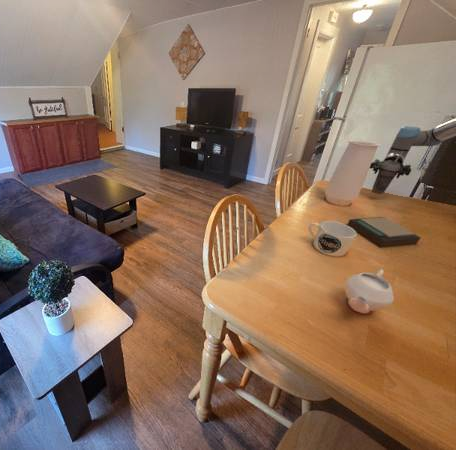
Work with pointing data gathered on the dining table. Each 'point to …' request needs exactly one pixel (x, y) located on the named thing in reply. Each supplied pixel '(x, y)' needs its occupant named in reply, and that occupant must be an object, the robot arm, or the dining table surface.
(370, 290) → the teapot
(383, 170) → the beverage cup
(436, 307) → the dining table surface
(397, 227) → the scale
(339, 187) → the vase
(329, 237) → the mug
